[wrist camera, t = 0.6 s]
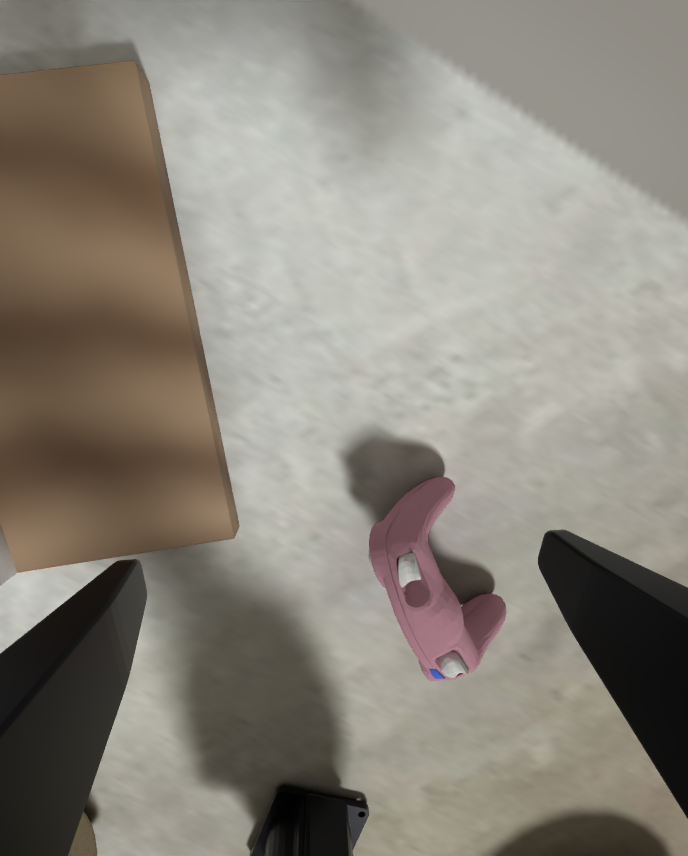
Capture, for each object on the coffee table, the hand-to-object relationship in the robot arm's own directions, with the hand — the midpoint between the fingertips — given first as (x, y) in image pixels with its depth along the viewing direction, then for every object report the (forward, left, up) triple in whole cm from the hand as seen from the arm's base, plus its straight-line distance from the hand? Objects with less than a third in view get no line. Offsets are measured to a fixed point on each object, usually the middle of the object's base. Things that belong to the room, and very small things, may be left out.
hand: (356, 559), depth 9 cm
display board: (0, +14, -14) cm, 19 cm away
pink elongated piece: (-5, -8, -14) cm, 17 cm away
